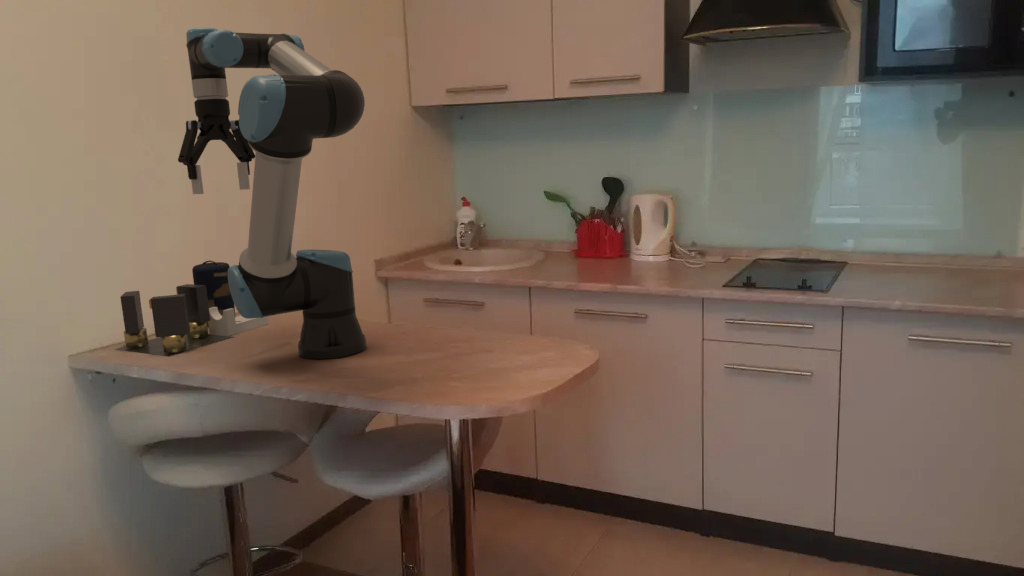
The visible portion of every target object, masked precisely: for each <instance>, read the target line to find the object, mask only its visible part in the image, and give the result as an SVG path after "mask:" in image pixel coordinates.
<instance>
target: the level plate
mask: <svg viewBox="0 0 1024 576" xmlns="http://www.w3.org/2000/svg"><path fill="white" fill-rule="evenodd" d="M233 338H235V336H233V335H230V336H224V335H215V334H209V333H208V335H207V336H204V337H199V338H188V337H187V334H185V339H186V347H187V349H185V350H183V351H179V352H172V353H166V352H164V350H163V343H162V337H154V338H151V339H148V345H145V346H141V347H135V348H127V347H126V345H125V346H122V347H118V348H115V349H114V350H116V351H122V352H131V353H138V354H144V355H145V354H147V355H152V356H153V355H154V356H161V357H167V358H169V357H173V356H175V355H179V354H183V353H186V352H190V351H193V350H197V349H199V348H203V347H208V346H209V345H213V344H216V343H219V342H223V341H226V340H229V339H233Z"/></svg>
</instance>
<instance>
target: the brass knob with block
mask: <svg viewBox="0 0 1024 576" xmlns="http://www.w3.org/2000/svg"><path fill="white" fill-rule="evenodd" d="M140 293H141V292H140V290H134V291H133V290H132V291H126V292H123V293H122V294H121V295H120V298H119V299H120V304H121V305H120V306H121V310H122V311H121V312H122V316H123V319H122V320H123V323H124V324H123V325H124V330H123V336H124V344H125V346H126V347H127V348H135V347H141V346H145V345H148V340H149V337H148V332H147V328H146V327H145V324H144V317H143V309H142V301H141V295H140Z"/></svg>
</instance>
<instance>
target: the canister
mask: <svg viewBox="0 0 1024 576" xmlns="http://www.w3.org/2000/svg"><path fill="white" fill-rule="evenodd" d="M230 267H231V266H230V264H229V263H227V262H222V261H221V262H216V261H214V260H205V261H204V262H202V263H199V264H196V265H194V266H192V270H191V271H192V278H193V279H192V280H193V285H206V290H207V298H208V306H209V308H212V307H217V308H218V311H219V313H220V315H221V316H223V310H227V309H230V308H234V313H235V314H236V306H235V304H234V302H233V299H232V296H231V292H230V288H229V283H228V269H229V268H230ZM235 317H237V316H236V315H235ZM207 327H208V328H209V326H208V322H207Z"/></svg>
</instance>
